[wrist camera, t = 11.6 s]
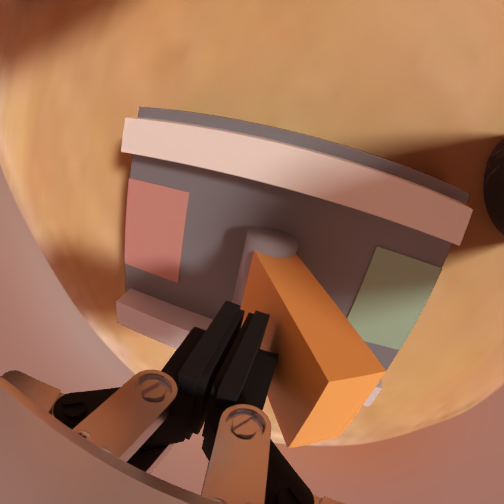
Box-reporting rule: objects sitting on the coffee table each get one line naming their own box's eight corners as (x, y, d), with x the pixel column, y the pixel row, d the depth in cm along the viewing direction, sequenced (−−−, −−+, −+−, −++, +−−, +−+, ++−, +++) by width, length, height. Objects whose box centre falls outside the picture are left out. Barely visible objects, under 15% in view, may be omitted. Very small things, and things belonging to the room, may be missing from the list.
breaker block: (169, 109, 18) (119, 105, 13) (446, 182, 15) (485, 201, 10) (149, 291, 24) (111, 326, 19) (368, 361, 21) (371, 413, 16)
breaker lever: (241, 224, 15) (327, 372, 7) (287, 229, 15) (397, 360, 7) (226, 300, 16) (278, 454, 9) (267, 301, 17) (338, 440, 9)
